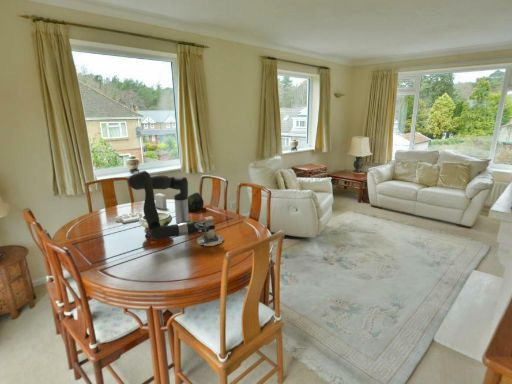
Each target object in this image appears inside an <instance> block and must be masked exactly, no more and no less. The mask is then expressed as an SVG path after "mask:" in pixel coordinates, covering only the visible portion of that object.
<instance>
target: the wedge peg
mask: <svg viewBox="0 0 512 384" xmlns="http://www.w3.org/2000/svg"><path fill="white" fill-rule="evenodd" d="M203 219H204V220H203V221H205V226H212V225H214V226H215V222H214V220H215V219H214V217H213V216H212V215H211V216H205V217H203ZM205 228H206V227H205ZM205 231H206V230H205ZM204 233H205V234H204V235H205V236H206V239H210V238H215V236H214V233H215V229H211V230H209V232H204Z"/></svg>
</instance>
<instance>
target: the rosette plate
mask: <svg viewBox="0 0 512 384" xmlns="http://www.w3.org/2000/svg"><path fill="white" fill-rule="evenodd" d="M214 236H215V238H210V239H206V236H205V234H202V235H200V236H199V237H197V239H196V243H197V244H198V245H199V244H200V245H199V246H201V245H204V246H203V247H205V246H211V245H216V244H219V243H221V242H222V241H223V242H224V237H223V236H221V235H219V234H216V233H215V232H214ZM223 242H222V243H223ZM222 243H221V244H222Z"/></svg>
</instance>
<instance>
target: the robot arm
mask: <svg viewBox="0 0 512 384" xmlns="http://www.w3.org/2000/svg"><path fill="white" fill-rule="evenodd" d="M128 186H129V187H131V188H132V189H133V190H135V191H140V190H144V192H145V193H144V197H145V198H144V202H143V214H144V217H145V220H146V224H147V227H148V231H149V236H150V237H151V238H152V239H153V240H155V241H156V240H161V239H167V238H174V237H182V236H183V237H184V236H190V235H195V233H196V232H198V234H203V233H205V232H209V230H211V229H214V230H216V229H215V228H216V226H215V224H214V225H212V226H205V220H202V219H200V220H195V221H190V218H189V214H190V213H189V210H188V197H189V181H188V179H187V177H185V176H170V177H169V176H167V175H165V174H155V175H151V174H150V173H149V172H148V171H146V170H142V171H139V172H137V173H134V174H131V175H130V176H129V178H128ZM166 189H171V190H177V191H178V190H179V193H177V194H176V193H175V195H174V196H173V197H174V199H173V200H174V211H175V212H174V213H175V222H176V224H174V223H173V224H170V225H162V226H161V223H160V217H159V213H158V210H157V208H156V205H155V194H154V193H155V192H154V190H166ZM205 227H206V228H205ZM205 230H206V231H205Z"/></svg>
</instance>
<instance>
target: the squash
mask: <svg viewBox="0 0 512 384" xmlns="http://www.w3.org/2000/svg"><path fill="white" fill-rule="evenodd" d="M204 203H205V202H204V199H203V197H202V196H201V194H200V193H199V192H194V193H192V194H191V195H188V211H197V210H201V209H203V208H204V205H205V204H204Z"/></svg>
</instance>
